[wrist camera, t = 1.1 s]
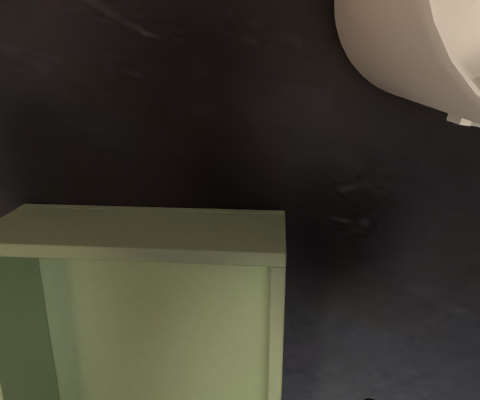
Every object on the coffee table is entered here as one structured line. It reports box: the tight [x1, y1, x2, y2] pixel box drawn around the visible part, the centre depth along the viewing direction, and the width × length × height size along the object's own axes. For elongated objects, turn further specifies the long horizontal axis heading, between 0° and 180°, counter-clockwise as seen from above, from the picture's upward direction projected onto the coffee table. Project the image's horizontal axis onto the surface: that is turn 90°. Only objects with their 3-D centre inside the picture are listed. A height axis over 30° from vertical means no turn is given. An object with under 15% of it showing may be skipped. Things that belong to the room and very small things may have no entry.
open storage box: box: [0, 204, 286, 400], centre depth 22 cm, size 13×13×5 cm
